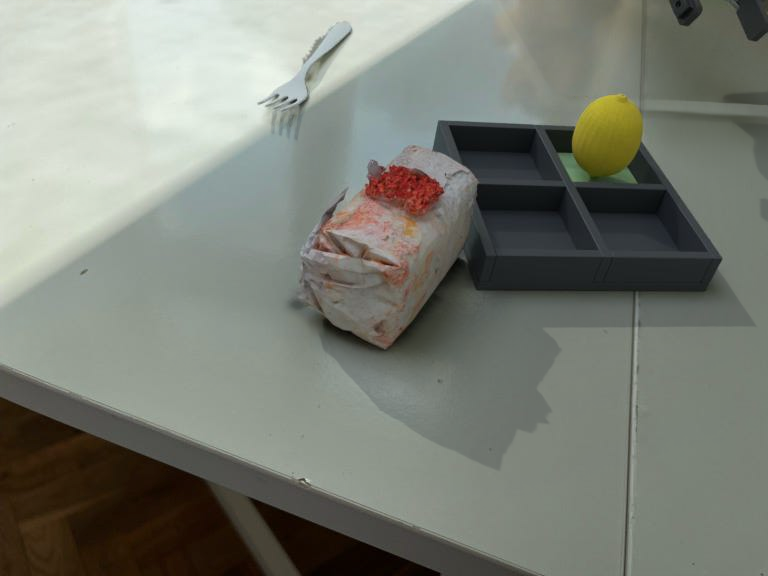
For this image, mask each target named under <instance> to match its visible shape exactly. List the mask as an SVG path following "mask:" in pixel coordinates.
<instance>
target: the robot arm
mask: <svg viewBox="0 0 768 576" xmlns="http://www.w3.org/2000/svg"><path fill="white" fill-rule="evenodd" d="M765 1H766V0H726V2H727V3H729V5H730V6H731V7H732V8H733V9H734V10H735V14H736V16H737V18H738V21H739V22H740V25H741V27H742V30H743V33H744V35H745V36H746V39H747V40H748V41H750V42H758V41H759V40H761V39H762V38H763V37H764V36H765V35H767V34H768V12H767V10H766V8H765V6H764V4H763V3H764V2H765ZM668 3H669V5H670V7H671V11H672V12H673V15H674V16H675V17H676V20H677V22H678V25H680V26H684V27H690V26H691V24H693V23H694V22H695V21H696V20H697V19H698V18H699V17H700V16H701V15H702V13H703V9H704V8H703V5H702V3H701V1H700V0H668Z"/></svg>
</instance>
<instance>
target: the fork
mask: <svg viewBox="0 0 768 576" xmlns="http://www.w3.org/2000/svg"><path fill="white" fill-rule="evenodd" d="M351 30H352V25H351V24H350V23H347V22H339V23H336V24H335V25H333V26H332V27H331V29H330V30H329V31H328V34H327V35H326V36H325V38H324V39H323V40H322V42H321V43H320V44H319V45H318V47H317V48H316V50H315V51H314V52H313V53H312V55H311V56H310V57H309V58H308V59H307V60H306V61H305V62H304V63H303V65H302V66H301V67H300V69H299V70H298V72H297V73H296V74H295V75H294V77H292V78H291V79H290V80H288V81H287V82H285V83H283V84H282V85H280V86H278V87H277V88H276V89H274V90H273V91H272V92H271V93H270V94H269V95H268V96H267V97H265V98H263V99H262V100H260V101H257V103H256V104H257V106H260V105H262V104H263V105H264V108H268V107H271V106H272V110H277V109H280V110H279V112H285V111H288V110H290V109H292V108H295V107H296V106H298V105H300V104H302V103H303V102H304V101H305V100H307V98H308V96H309V92H308V88H307V85H306V75H307V73H308V70H309V69H310V67H312V65H313V64H314V63H316V62H317V61H318V60H319V59H321V58H322V57H323V56H324V55H326V54H327V53H329V52H330V51H331V50H332V49H334V48H335V46H337V44H339V43H340V42H341V41H342V40H344V39H345V37H347V35H348V34H350V33H351ZM276 96H278V97H277V98H276V99H273V98H275V97H276ZM272 99H273V100H272ZM284 99H286V100H284ZM270 100H272V101H270ZM283 100H284V101H283ZM269 101H270V102H269ZM281 101H283V102H281ZM294 101H295V102H294ZM279 102H281V103H279ZM291 102H294V103H291ZM277 103H279V104H277ZM290 103H291V104H290ZM275 104H277V105H275ZM288 104H289V105H288ZM273 105H274V106H273ZM286 105H287V106H286ZM284 106H285V107H284ZM282 107H283V108H282Z"/></svg>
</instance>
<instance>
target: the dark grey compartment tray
mask: <svg viewBox="0 0 768 576" xmlns="http://www.w3.org/2000/svg"><path fill="white" fill-rule="evenodd" d="M575 127H576V125H575V126H574V125H557V124H556V125H552V124H532V123H514V122H513V123H511V122H510V123H509V122H508V123H507V122H492V121H491V122H487V121H469V120H468V121H464V120H446V119H445V120H444V119H442V120H441V119H438V120H437V125H436V130H435V135H434V141H433V145H432V149H431V151H434V152H440V153H443V154H445V155H447V156H448V157H450V158H452V159H453V160H455V161H456V162H458V163H460V164H461V165H463V166H465V167H467V168H468V169H469V170H470V171H471V172H472V173H473V174H474V176H475V178H476V179H477V180H478V181H479V183H478V184H477V196H476V199H475V205H474V208H473V215H472V216H471V221H470V227H469V234H468V238H467V241H466V244H465V246H464V248H463V252H464V255H465V258H466V261H467V264H468V266H469V270H470V274H471V277H472V280H473V283H474V286H475V289H476V290H477V291H622V292H623V291H628V292H629V291H631V292H633V291H635V292H637V291H639V292H640V291H643V292H645V291H646V292H647V291H654V292H655V291H658V292H661V291H662V292H663V291H665V292H666V291H667V292H674V291H675V292H683V291H684V292H706V291H707V289H708V287H709V285H710V283H711V281H712V279H713V278H714V276H715V274H716V273H717V270H718V269H719V267H720V264H721V263H722V261H723V256H722V255H721V254H720V252H719V251H718V249H717V248H716V247H715V245H714V243H713V242H712V240H711V239H710V238H709V236H708V235H707V233H706V232H705V231H704V229H703V228H702V226H701V225H700V224H699V222H698V220H697V219H696V217H695V215H693V213H692V211H690V209H689V208H688V206H687V205H686V203H685V201H684V200H683V199H682V197H681V196H680V195H679V193H678V191H676V189H675V187H674V186H673V184H672V183H671V181H670V180H669V178H668V177H667V176H666V174H665V173H664V171H663V170H662V168H661V167H660V166H659V164H658V163H657V161H656V159H654V157H653V156H652V154H651V153H650V151H649V150H648V148H647V147H646V145H645V144H644V143H643V141H642V140H641V143H640V146H639V149H638V151H637V153H636V155H635V157H634V158H633V160H632V161H631V163H630V164H629V165H628V166H627V167H626V168H625V169H623V170H622V171H621V172H619V173H617V174H614V175H611V176H605V177H597V178H591V177H590V176H589V174H588V173H587V172H585V171H584V170H583V169H582V168H581V167H580V166H579V165H578V164H577V162H576V160H575V158H574V155H573V151H572V138H573V134H574V130H575Z"/></svg>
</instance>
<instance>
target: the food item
mask: <svg viewBox="0 0 768 576" xmlns="http://www.w3.org/2000/svg"><path fill="white" fill-rule="evenodd" d="M366 167H367V174H366V175H365V177H366V178H367V180H368V183H367V182H366V183H365V184H364V186H363V188H361V190H360V191H359V192H357V193H356V194H355V195H354V196H353V197H352V199H351V200H350V201H349V202H348V203H347V204H346V205H345V206H343V207H342V208H341V209H340V210H339V211H337V212H336V213H335V211H336V210H337V207H338V205H339V204H340V203H341V202H343V201H344V200H345V197H346V194H347V191H348V190H349V188H350V186H348V187H346V188H344V190H342V191H341V193H340V194H338V195H337V197H335V198H334V199H333V200H332V201H331V202H330V203H329V204H328V205H327V206H326V207H325V208H324V210H323V213H322V216H321V217H320V219H319V221H318V223H316V225H315V226H314V228H313V229H312V230H311V232H310V233H309V235H308V237H307V239H306V242H305V244H304V243H302V246H301V248H300V252H299V256H300V260H301V265H300V268H299V271H298V282H299V286H298V291H297V297H298V300H299V302H300V303H302V304H303V305H304V307H307V306H310V307H312V308H313V309H314V310H315V312H318V313H319V314H320V315H322V316H324V317H325V318H326V319H327V320H328V321H329V322H330V323H331V324H332V325H333V326H335V327H337V328H338V329H341V330H343V331H349V332H351V333H352V334H353V335H355V336H357V337H359V339H361V340H363V341H365V342H368V343H369V344H371V345H374V346H376V347H378V348H380V349H383V350H387V349H388V348H389V347H391V346H392V345H393V344H394V342H395V341H396V340H397V338H398V337H399V336H401V335H402V333H403V332H404V331H405V330H406V329H407V327H409V325H410V324H411V323H412V322H413V321H414V319H415V318H416V317H417V315H418V314H419V312H420V311H421V310H422V309H423V307H424V306H425V304H426V303H427V302H428V301H429V299H430V298H431V296H432V294H433V293H434V292H435V290H436V289H437V288H438V286H439V285H440V283H441V282H442V281H443V279H444V278H445V277H446V275H447V273H448V272H449V271H450V269H451V268H452V267H453V266H454V264H455V262H456V261H457V259H459V256H460V255H461V253H462V251H464V249H463V248H464V246H465V244H466V241H467V238H468V234H469V227H470V221H471V216H472V215H473V208H474V205H475V199H476V196H477V184H478V183H479V181H478V180H477V179H476V178H475V176H474V174H473V173H472V172H471V171H470V170H469V169H468V168H467V167H465V166H463V165H461V164H460V163H458V162H456V161H455V160H453V159H452V158H450V157H448V156H447V155H445V154H443V153H440V152H434V151H432V149H429V148H425V147H422V146H419V145H415V144H414V145H413V144H411V145H408V146H405V147H404V148H403V150H402V151H401V152H400V153H399V154H398V155H397V156H396V157H395V158H393V160H391V162H389V163H388V164H387V165H386V166H385V167H384V166H383V165H379V163H378V161H377V160H374V159H372V158H371V159H370V161H369V162H368V165H367V166H366ZM334 213H335V214H334Z"/></svg>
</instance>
